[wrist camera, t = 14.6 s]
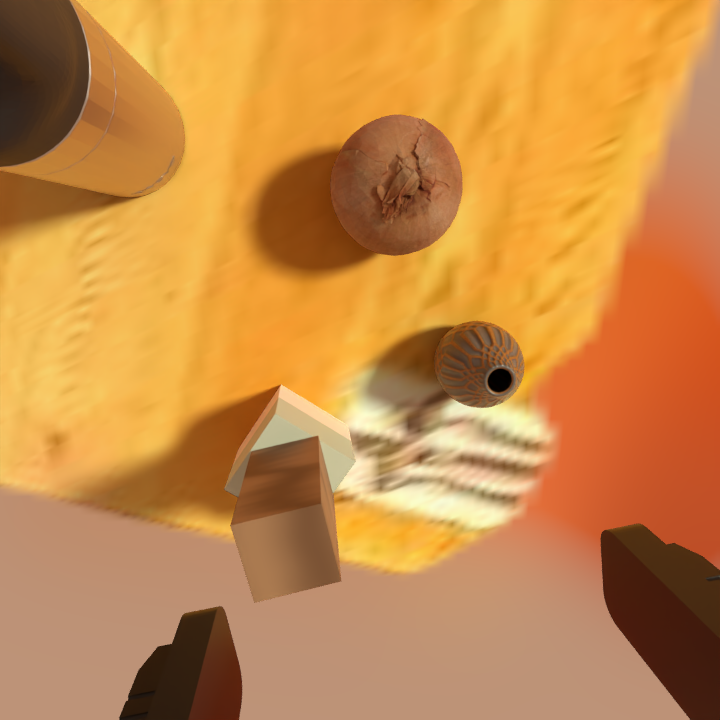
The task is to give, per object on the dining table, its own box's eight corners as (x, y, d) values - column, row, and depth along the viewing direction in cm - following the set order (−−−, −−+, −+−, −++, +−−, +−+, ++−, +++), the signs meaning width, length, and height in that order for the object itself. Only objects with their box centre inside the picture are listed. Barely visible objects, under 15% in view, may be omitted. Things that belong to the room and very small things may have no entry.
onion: (415, 271, 43) (444, 279, 34) (310, 226, 42) (310, 222, 32) (462, 161, 42) (507, 137, 32) (355, 110, 40) (368, 68, 30)
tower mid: (232, 466, 42) (224, 489, 38) (278, 397, 41) (275, 413, 37) (304, 507, 43) (304, 533, 39) (351, 441, 42) (355, 461, 38)
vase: (425, 392, 46) (450, 427, 37) (428, 315, 44) (455, 333, 36) (500, 391, 46) (542, 425, 38) (506, 315, 45) (551, 333, 36)
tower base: (238, 447, 46) (231, 467, 42) (280, 384, 45) (278, 397, 41) (305, 485, 47) (304, 507, 43) (347, 424, 46) (351, 441, 42)
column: (268, 511, 39) (254, 602, 29) (251, 451, 37) (230, 525, 28) (333, 495, 39) (341, 581, 29) (318, 435, 38) (321, 503, 28)
